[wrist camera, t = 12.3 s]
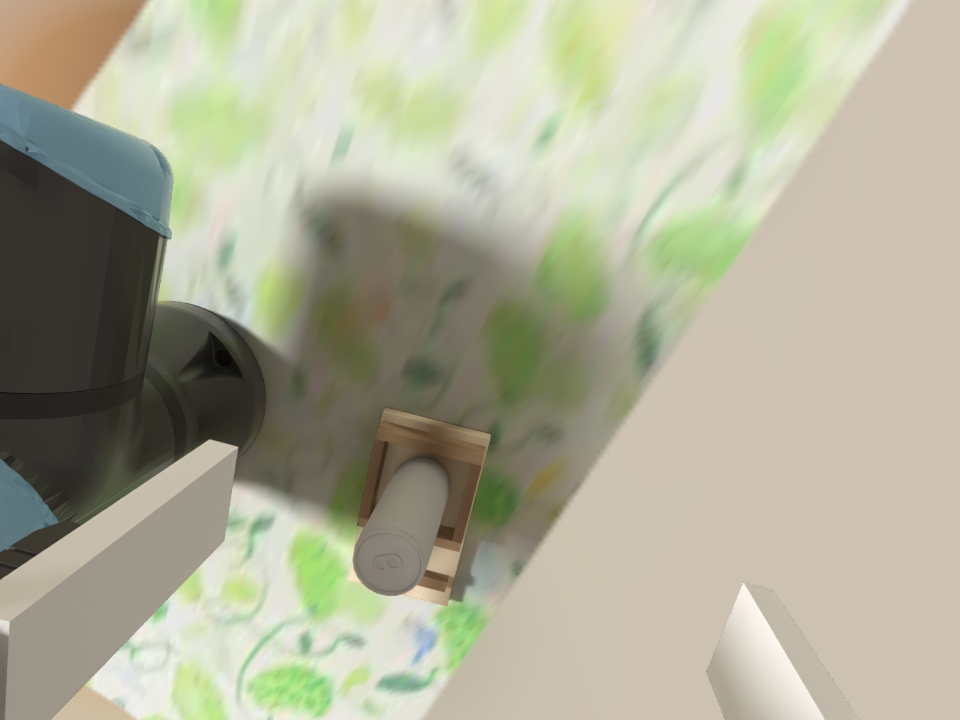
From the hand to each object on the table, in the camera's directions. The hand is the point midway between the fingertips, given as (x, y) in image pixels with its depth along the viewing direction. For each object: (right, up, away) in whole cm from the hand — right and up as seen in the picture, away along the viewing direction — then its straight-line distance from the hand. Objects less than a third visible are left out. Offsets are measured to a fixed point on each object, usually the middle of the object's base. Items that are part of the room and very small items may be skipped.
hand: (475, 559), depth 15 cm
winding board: (-5, -8, +35) cm, 36 cm away
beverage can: (-5, -5, +33) cm, 34 cm away
